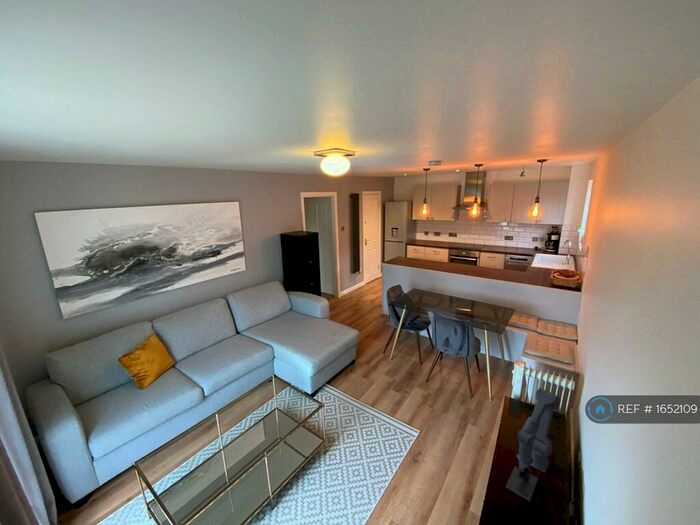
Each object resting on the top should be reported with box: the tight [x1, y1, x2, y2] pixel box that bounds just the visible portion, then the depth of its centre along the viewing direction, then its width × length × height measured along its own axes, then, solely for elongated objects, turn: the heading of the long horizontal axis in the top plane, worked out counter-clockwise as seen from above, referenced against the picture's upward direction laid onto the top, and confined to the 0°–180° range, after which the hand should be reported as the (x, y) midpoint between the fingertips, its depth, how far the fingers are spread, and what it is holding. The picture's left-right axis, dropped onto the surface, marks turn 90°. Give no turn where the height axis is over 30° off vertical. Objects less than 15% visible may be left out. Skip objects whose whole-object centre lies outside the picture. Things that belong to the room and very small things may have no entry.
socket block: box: [505, 465, 539, 502], centre depth 153 cm, size 15×11×2 cm
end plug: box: [520, 465, 531, 481], centre depth 155 cm, size 5×5×7 cm
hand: (524, 473), depth 155 cm, fingers closed on end plug, 5 cm apart
